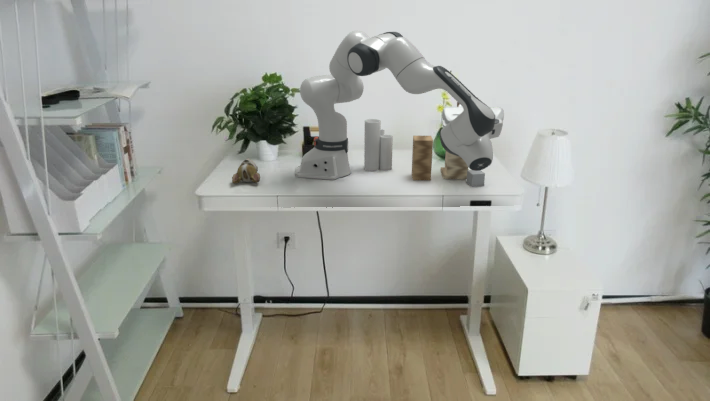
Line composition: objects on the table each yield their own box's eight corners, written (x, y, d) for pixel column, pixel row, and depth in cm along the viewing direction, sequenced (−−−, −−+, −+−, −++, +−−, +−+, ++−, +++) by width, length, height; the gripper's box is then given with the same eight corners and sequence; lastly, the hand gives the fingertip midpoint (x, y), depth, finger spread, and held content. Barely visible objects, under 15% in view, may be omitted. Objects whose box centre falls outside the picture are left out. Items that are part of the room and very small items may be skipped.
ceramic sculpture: (261, 153, 218) (258, 167, 204) (263, 173, 221) (260, 188, 208) (234, 154, 217) (229, 168, 203) (236, 174, 221) (231, 189, 207)
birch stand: (443, 179, 215) (447, 113, 206) (440, 171, 225) (444, 107, 215) (471, 179, 215) (477, 113, 205) (467, 171, 224) (472, 108, 215)
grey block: (471, 187, 208) (472, 174, 206) (466, 182, 212) (467, 170, 210) (483, 185, 209) (485, 173, 207) (478, 181, 213) (479, 169, 211)
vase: (365, 171, 224) (365, 123, 217) (363, 165, 231) (363, 119, 223) (392, 170, 225) (394, 122, 218) (389, 164, 232) (390, 118, 225)
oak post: (412, 180, 214) (414, 140, 208) (411, 174, 221) (413, 135, 215) (430, 180, 214) (433, 140, 208) (429, 174, 221) (431, 135, 215)
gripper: (442, 136, 183) (439, 108, 192) (503, 136, 183) (498, 108, 192) (444, 122, 179) (441, 94, 187) (507, 122, 178) (501, 94, 187)
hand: (470, 101), depth 189 cm, fingers closed on walnut rail, 4 cm apart
